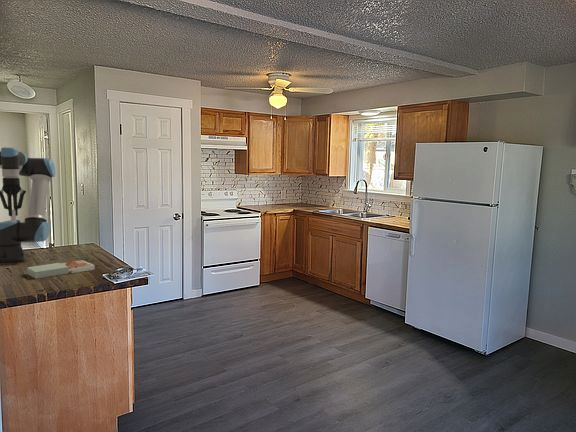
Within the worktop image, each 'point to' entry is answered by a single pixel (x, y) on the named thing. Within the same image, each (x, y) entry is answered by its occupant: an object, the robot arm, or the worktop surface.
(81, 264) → the tile far
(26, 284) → the worktop surface
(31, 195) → the robot arm
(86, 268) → the tray
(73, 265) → the tile near
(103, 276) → the worktop surface
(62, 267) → the board
